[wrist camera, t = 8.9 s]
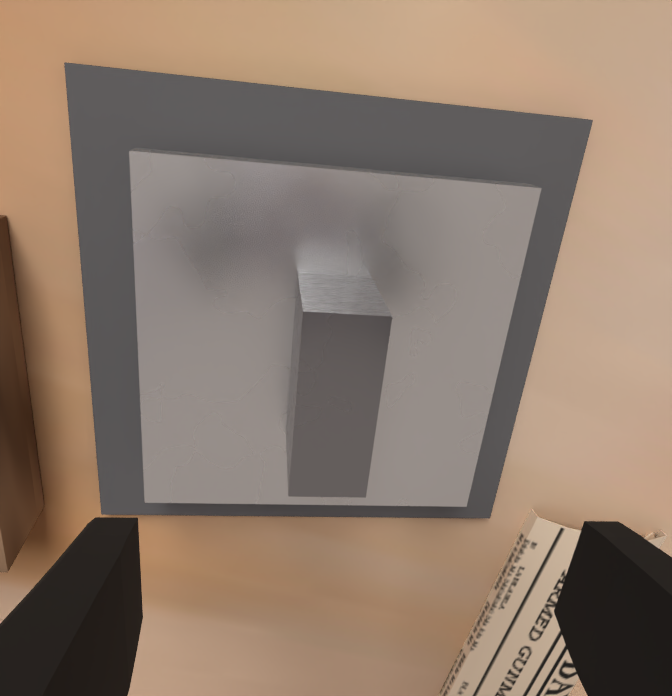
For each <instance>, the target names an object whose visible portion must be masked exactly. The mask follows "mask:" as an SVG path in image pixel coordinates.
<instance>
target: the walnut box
mask: <svg viewBox="0 0 672 696" xmlns="http://www.w3.org/2000/svg"><path fill="white" fill-rule="evenodd" d="M43 508H44V500H43V493H42V485H41V477H40V470H39V462H38V454H37V447H36V439H35V432H34V424H33V416H32V409H31V401H30V393H29V386H28V378H27V371H26V363H25V355H24V348H23V340H22V333H21V325H20V317H19V310H18V302H17V294H16V287H15V279H14V272H13V264H12V256H11V249H10V241H9V233H8V226H7V218H6V216H2V215H0V572H8V571H9V569H10V567H11V566H12V564H13V562H14V560H15V558H16V557H17V555H18V553H19V551H20V549H21V547H22V546H23V544H24V542H25V540H26V538H27V537H28V535H29V533H30V531H31V529H32V527H33V526H34V524H35V522H36V520H37V518H38V517H39V515H40V513H41V511H42V509H43Z"/></svg>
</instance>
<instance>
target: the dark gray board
mask: <svg viewBox="0 0 672 696" xmlns="http://www.w3.org/2000/svg"><path fill="white" fill-rule="evenodd" d="M64 64H65V76H66V88H67V100H68V112H69V125H70V137H71V149H72V161H73V173H74V185H75V198H76V210H77V222H78V234H79V246H80V259H81V271H82V283H83V295H84V307H85V319H86V332H87V344H88V356H89V368H90V380H91V392H92V405H93V417H94V429H95V441H96V453H97V466H98V478H99V490H100V502H101V514H105V515H205V516H305V517H405V518H490V516H491V512H492V508H493V504H494V500H495V497H496V493H497V489H498V485H499V481H500V477H501V473H502V470H503V466H504V462H505V458H506V454H507V450H508V446H509V442H510V439H511V435H512V431H513V427H514V423H515V419H516V415H517V412H518V408H519V404H520V400H521V396H522V392H523V388H524V384H525V381H526V377H527V373H528V369H529V365H530V361H531V357H532V354H533V350H534V346H535V342H536V338H537V334H538V330H539V326H540V323H541V319H542V315H543V311H544V307H545V303H546V299H547V296H548V292H549V288H550V284H551V280H552V276H553V272H554V268H555V265H556V261H557V257H558V253H559V249H560V245H561V241H562V238H563V234H564V230H565V226H566V222H567V218H568V214H569V210H570V207H571V203H572V199H573V195H574V191H575V187H576V183H577V180H578V176H579V172H580V168H581V164H582V160H583V156H584V152H585V149H586V145H587V141H588V137H589V133H590V129H591V125H592V122H593V120H588V119H578V118H569V117H560V116H551V115H542V114H532V113H523V112H514V111H505V110H496V109H487V108H477V107H468V106H459V105H450V104H441V103H431V102H422V101H413V100H404V99H395V98H386V97H376V96H367V95H358V94H349V93H340V92H330V91H321V90H312V89H303V88H294V87H285V86H275V85H266V84H257V83H248V82H239V81H229V80H220V79H211V78H202V77H193V76H184V75H174V74H165V73H156V72H147V71H138V70H128V69H119V68H110V67H101V66H92V65H83V64H73V63H64ZM135 148H144V149H155V150H166V151H177V152H188V153H199V154H209V155H220V156H231V157H242V158H253V159H264V160H275V161H286V162H297V163H308V164H319V165H330V166H341V167H351V168H362V169H373V170H384V171H395V172H406V173H417V174H428V175H439V176H450V177H461V178H472V179H483V180H494V181H504V182H515V183H526V184H531V185H534V186H537V187H540V188H542V189H541V193H540V197H539V201H538V206H537V210H536V214H535V218H534V223H533V227H532V231H531V235H530V240H529V244H528V248H527V252H526V257H525V261H524V265H523V269H522V273H521V278H520V282H519V286H518V290H517V295H516V299H515V303H514V307H513V312H512V316H511V320H510V324H509V329H508V333H507V337H506V341H505V346H504V350H503V354H502V358H501V363H500V367H499V371H498V375H497V380H496V384H495V388H494V392H493V397H492V401H491V405H490V409H489V414H488V418H487V422H486V426H485V431H484V435H483V439H482V443H481V448H480V452H479V456H478V460H477V465H476V469H475V473H474V477H473V481H472V486H471V490H470V494H469V498H468V503H467V507H445V506H366V505H286V504H207V503H145V500H144V477H143V455H142V432H141V409H140V387H139V364H138V341H137V319H136V296H135V273H134V251H133V228H132V205H131V183H130V160H129V151H130V150H132V149H135Z"/></svg>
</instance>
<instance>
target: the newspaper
mask: <svg viewBox="0 0 672 696" xmlns="http://www.w3.org/2000/svg"><path fill="white" fill-rule="evenodd" d="M580 533H581V530H577V529H573V528H568V527H565V526H562V525H559V524H557V523H554V522H551V521H548V520H546V519H543V518H540V517H538V516H537V514H536V513H535V512H534V510H533V509H532V508H531V509H530V512H529V514H528V516H527V518H526V520H525V522H524V524H523V526H522V528H521V530H520V532H519V534H518V536H517V538H516V540H515V542H514V544H513V546H512V548H511V550H510V552H509V554H508V556H507V558H506V560H505V562H504V564H503V566H502V568H501V570H500V572H499V574H498V576H497V578H496V580H495V582H494V584H493V586H492V588H491V590H490V592H489V594H488V596H487V598H486V600H485V603H484V605H483V607H482V609H481V611H480V613H479V615H478V617H477V619H476V621H475V623H474V625H473V627H472V629H471V631H470V633H469V635H468V637H467V639H466V641H465V643H464V645H463V647H462V649H461V651H460V653H459V655H458V657H457V659H456V661H455V663H454V665H453V667H452V669H451V671H450V673H449V675H448V677H447V679H446V681H445V683H444V685H443V687H442V689H441V691H440V694H439V696H568V695H569V694H570V692H571V690H572V689H573V687H574V686H575V684H576V682H577V681H578V679H579V677H578V675H577V672H576V670H575V667H574V665H573V662H572V660H571V657H570V654H569V652H568V649H567V647H566V644H565V641H564V639H563V636H562V633H561V630H560V627H559V624H558V622H557V619H556V616H555V613H554V609H555V606H556V603H557V600H558V598H559V595H560V592H561V589H562V586H563V583H564V580H565V577H566V574H567V571H568V568H569V565H570V562H571V559H572V557H573V554H574V551H575V548H576V545H577V542H578V539H579V536H580ZM666 537H667V535H666V534H665V533H664V532H663V531H662V530H661V529H660V531H659V532H658V534H657V536H656V537H655V536H654V533H651V534H649V535H648V536H646V537H644V539H646V540H647V541H649V542H650V543H652V544H653V545H655V546H656V547H657V548H660V547H661V545H662V543H663V542H664V540H665V538H666Z"/></svg>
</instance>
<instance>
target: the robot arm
mask: <svg viewBox="0 0 672 696" xmlns="http://www.w3.org/2000/svg"><path fill="white" fill-rule="evenodd" d="M554 613H555V616H556V619H557V622H558V624H559V627H560V630H561V633H562V636H563V639H564V641H565V644H566V647H567V649H568V652H569V654H570V657H571V660H572V662H573V665H574V667H575V670H576V672H577V675H578V677H579V679H580V681H581V683H582V685H583V687H584V689H585V691H586V693H587V695H588V696H672V557H670V556H669V555H667V554H666V553H665V552H663V551H662V550H660V549H659V548H657V547H656V546H655V545H653V544H652V543H650V542H649V541H647V540H646V539H644V538H643V537H641V536H640V535H638V534H637V533H635V532H634V531H632V530H631V529H629V528H628V527H626V526H624V525H623V524H621V523H620V522H596V521H584V524H583V527H582V530H581V533H580V536H579V539H578V542H577V545H576V548H575V551H574V554H573V557H572V559H571V562H570V565H569V568H568V571H567V574H566V577H565V580H564V583H563V586H562V589H561V592H560V595H559V598H558V600H557V603H556V606H555V609H554ZM142 619H143V612H142V592H141V572H140V552H139V532H138V518H94V519H93V520H92V521H91V522H89V523H88V524H87V526H86V527H85V528H84V529H83V530H82V532H81V533H80V534H79V535H78V536H77V538H76V539H75V540H74V541H73V542H72V544H71V545H70V546H69V547H68V548H67V550H66V551H65V552H64V553H63V554H62V555H61V557H60V558H59V559H58V560H57V561H56V563H55V564H54V565H53V566H52V567H51V568H50V569H49V571H48V572H47V573H46V574H45V575H44V576H43V577H42V579H41V580H40V581H39V582H38V583H37V584H36V585H35V587H34V588H33V589H32V590H31V591H30V592H29V593H28V594H27V595H26V597H25V598H24V599H23V600H22V601H21V602H20V603H19V604H18V605H17V606H16V607H15V608H14V610H13V611H12V612H11V613H10V614H9V615H8V616H7V617H6V618H5V619H4V620H3V621H2V623H1V624H0V696H127V695H128V691H129V688H130V682H131V677H132V672H133V667H134V662H135V657H136V651H137V646H138V641H139V635H140V630H141V624H142Z"/></svg>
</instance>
